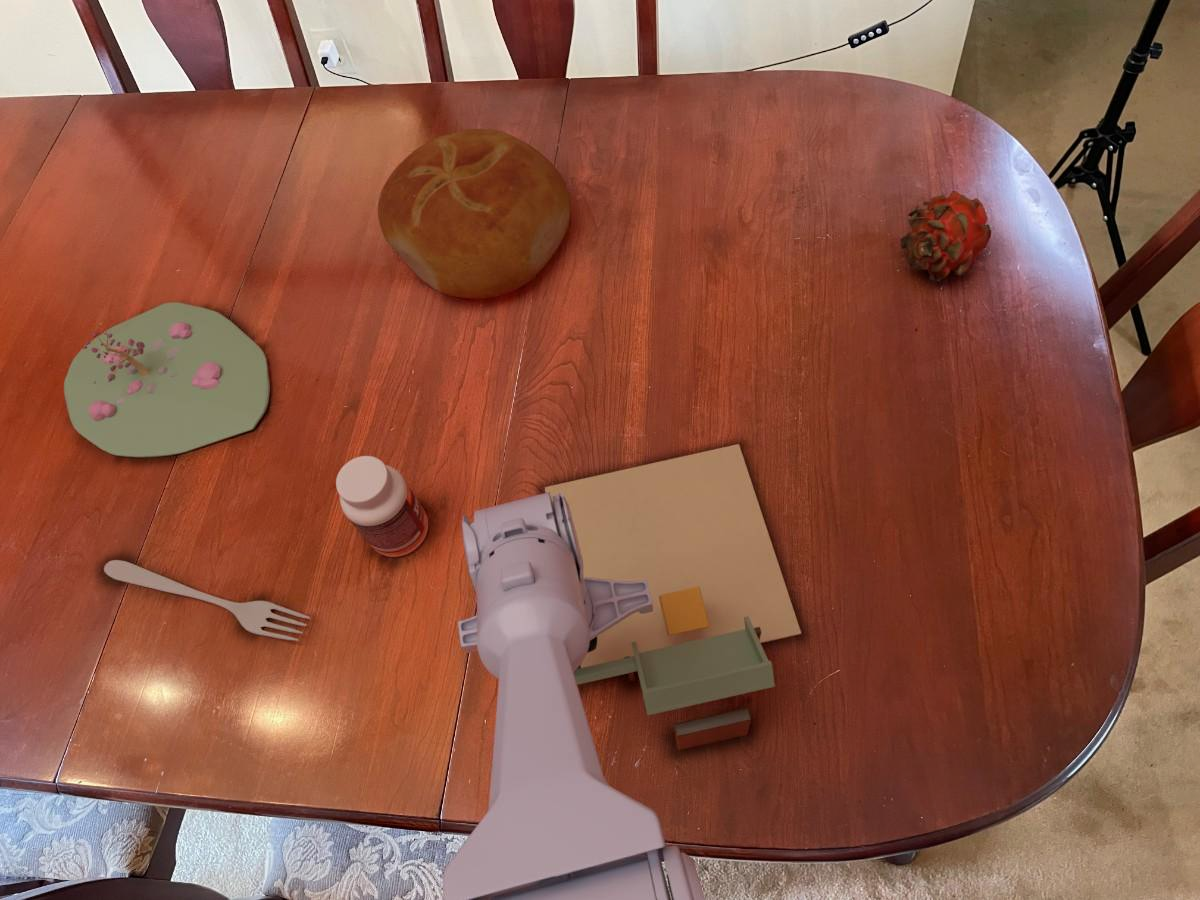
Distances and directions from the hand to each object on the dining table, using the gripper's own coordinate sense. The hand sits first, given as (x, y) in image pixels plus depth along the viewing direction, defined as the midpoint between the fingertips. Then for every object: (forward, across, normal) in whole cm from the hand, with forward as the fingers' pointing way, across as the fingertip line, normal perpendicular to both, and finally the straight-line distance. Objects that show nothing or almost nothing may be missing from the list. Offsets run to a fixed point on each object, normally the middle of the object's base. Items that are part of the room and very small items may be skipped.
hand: (569, 644), depth 71 cm
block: (+1, -10, +1) cm, 10 cm away
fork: (+6, +35, -14) cm, 38 cm away
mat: (+6, -10, -8) cm, 14 cm away
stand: (+5, -10, +6) cm, 13 cm away
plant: (+7, +39, -42) cm, 58 cm away
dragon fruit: (+7, -48, -36) cm, 60 cm away
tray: (-2, -7, +4) cm, 9 cm away
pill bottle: (+6, +15, -17) cm, 23 cm away
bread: (+8, +2, -54) cm, 54 cm away
